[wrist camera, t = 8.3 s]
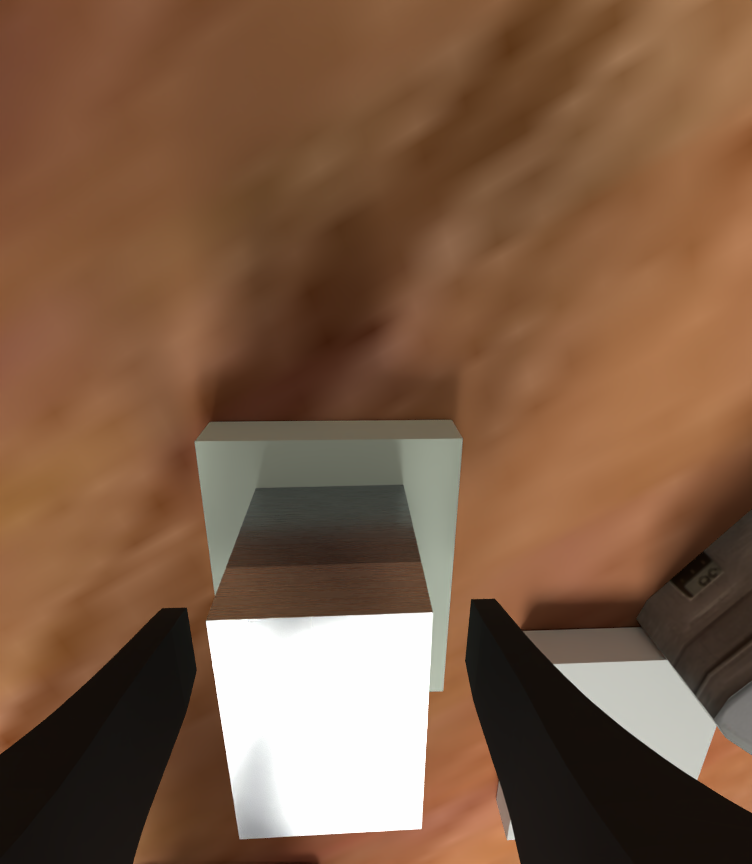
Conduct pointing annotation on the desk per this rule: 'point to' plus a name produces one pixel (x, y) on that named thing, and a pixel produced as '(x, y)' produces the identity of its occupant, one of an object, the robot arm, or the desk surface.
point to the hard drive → (711, 630)
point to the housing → (324, 662)
